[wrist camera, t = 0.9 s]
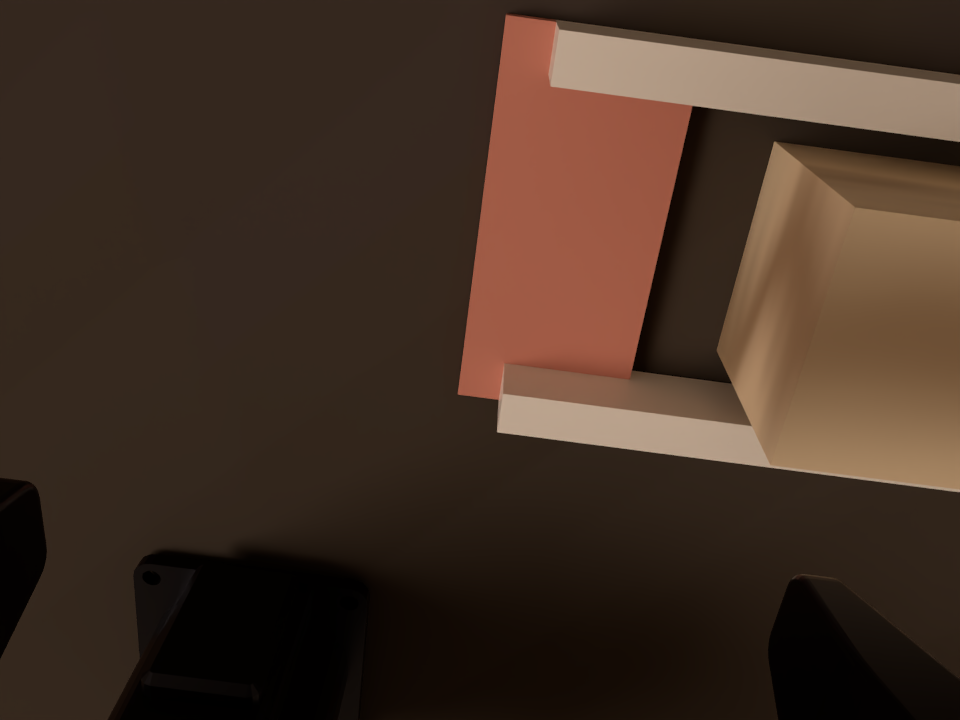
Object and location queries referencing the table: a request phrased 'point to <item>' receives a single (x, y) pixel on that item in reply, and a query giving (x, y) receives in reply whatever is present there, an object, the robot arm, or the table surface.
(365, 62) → the table surface
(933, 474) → the pine block
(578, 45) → the channel
